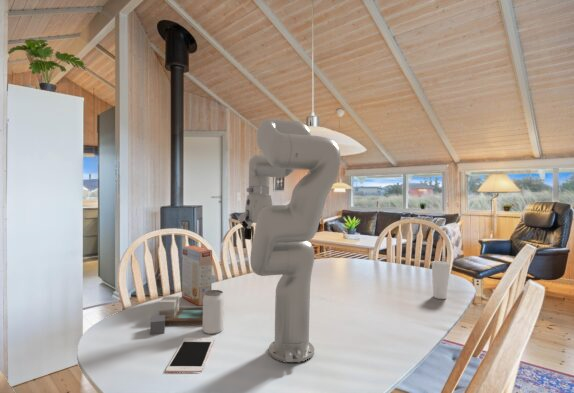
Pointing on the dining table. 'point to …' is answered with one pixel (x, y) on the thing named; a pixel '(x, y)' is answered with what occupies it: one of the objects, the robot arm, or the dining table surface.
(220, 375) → the dining table surface
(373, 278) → the dining table surface
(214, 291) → the can
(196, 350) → the cell phone
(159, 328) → the block
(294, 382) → the dining table surface
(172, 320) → the mounting board
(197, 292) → the cracker box
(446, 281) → the drinking glass
